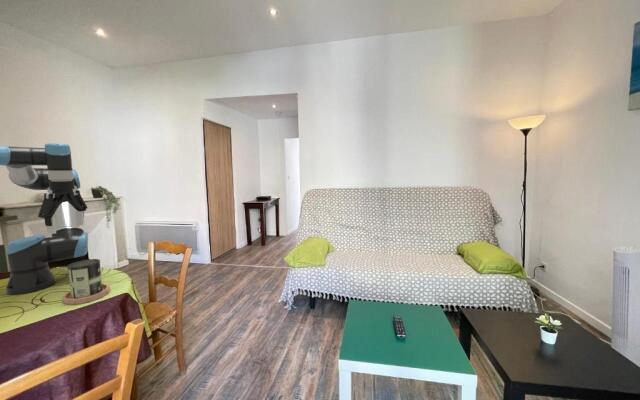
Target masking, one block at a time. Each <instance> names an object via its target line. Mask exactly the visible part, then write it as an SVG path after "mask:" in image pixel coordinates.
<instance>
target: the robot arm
mask: <svg viewBox="0 0 640 400" xmlns="http://www.w3.org/2000/svg"><path fill="white" fill-rule="evenodd" d="M72 162H73V161H72V150H71V146H70V145H69V144H66V143H55V142H54V143H53V142H46V143H45V144H44V147H25V146H10V145H9V146H8V145H3V146H1V145H0V166H5V168H6V169H7V171H8V178H9V180H10V182H12V184H15V185H16V186H18V187H20V188H24V189H28V190H33V191H46V192H47V193H44V194H43V201H42V204H41V206H40V208H39V212H38V215H37V217H38V218H41V219H44V225H45V227H46V232H47V234H51V236H49V237H46V236H45V235H44V234H38V235H37V234H36V235H32V236H26V237H20V238H18V239H15V240H12V241H10V242H9V243H7V245H6V251H7V252H6V255H7V258H8V265H9V266H8V267H9V272H10V273H9V275H10V276H9V278H8V280H7V281H8V282H7V284H6V288H5V291H6V294H7V295H22V294H27V293H32V292H37V291H40V290H43V289H46V288H49V287H51V286H53V285H55V284H56V277H55V275H54V273H53V272H52V270H51V269H50V267H49V263H52V262H55V261H56V262H57V261H63V260H68V259H69V260H70V259H75V258H78V257H84V256H86V255H87V254H88V246H89V232H85V231H84V229H83V228H81V227H80V226H85V220H84V218H85V213H84V212H86V211H87V209H88V206H87V204H86V202H85V200H84V198H83V197H82V195H81V191H80V189H81V181H80V177H79V175H78V172H77V170H76V169H74V168H73V163H72ZM33 166H44V168H43V167H42V168H41V167H40V168H38V167H33ZM45 166H46V167H47V168H46V167H45ZM53 216H54V217H53Z"/></svg>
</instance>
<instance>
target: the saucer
mask: <svg viewBox="0 0 640 400" xmlns="http://www.w3.org/2000/svg"><path fill="white" fill-rule="evenodd" d="M102 288H103V291H101V292H100V293H97V294H94V295H91V296H88V297H83V298H78V299H71V290H69V291H68V292H65V293H64V294H63V295H62V296H61V300H62V302H63V304H64V305H67V306H68V305H69V306H76V305H81V304H83V305H84V304H87V303H90V302H94V301H96V300H100V299H101V298H103V296H104V297H105V296H107V295H108V294H109V293H110V290H111V286H110V285H109V284H107V283H102ZM108 292H109V293H108ZM106 294H107V295H106Z"/></svg>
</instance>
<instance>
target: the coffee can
mask: <svg viewBox="0 0 640 400" xmlns="http://www.w3.org/2000/svg"><path fill="white" fill-rule="evenodd" d="M66 268H67V270H68V279H69V280H68V281H69V282H68V283H69V288H70V289H69V291H71V299H78V298H83V297H88V296H91V295H94V294H97V293H100V292H101V291H103V288H102V284H103V282H102V281H103V280H102V279H103V278H102V271H101V270H102V269H101V260H100V259H99V258H92V259H91V258H90V259H82V260H79V261H74V262H71V263H69V264H67V266H66Z"/></svg>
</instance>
